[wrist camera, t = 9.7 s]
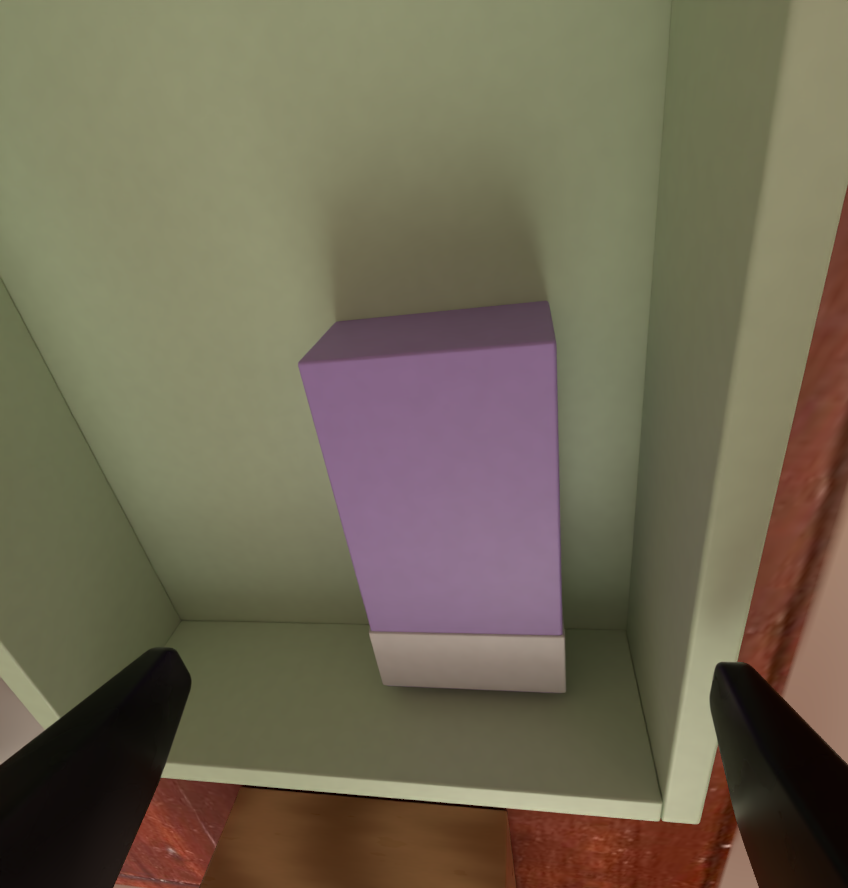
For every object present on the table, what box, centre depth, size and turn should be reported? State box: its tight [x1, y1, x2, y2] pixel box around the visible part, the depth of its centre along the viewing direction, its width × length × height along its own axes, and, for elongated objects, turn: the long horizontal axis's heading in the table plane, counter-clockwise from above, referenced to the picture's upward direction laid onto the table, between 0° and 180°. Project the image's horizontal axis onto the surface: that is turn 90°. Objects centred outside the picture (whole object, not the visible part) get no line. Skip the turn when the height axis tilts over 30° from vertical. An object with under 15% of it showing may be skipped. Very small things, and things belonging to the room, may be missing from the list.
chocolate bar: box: [298, 301, 566, 693], centre depth 12 cm, size 5×9×2 cm, turn 8°
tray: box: [0, 0, 848, 824], centre depth 10 cm, size 16×20×5 cm
